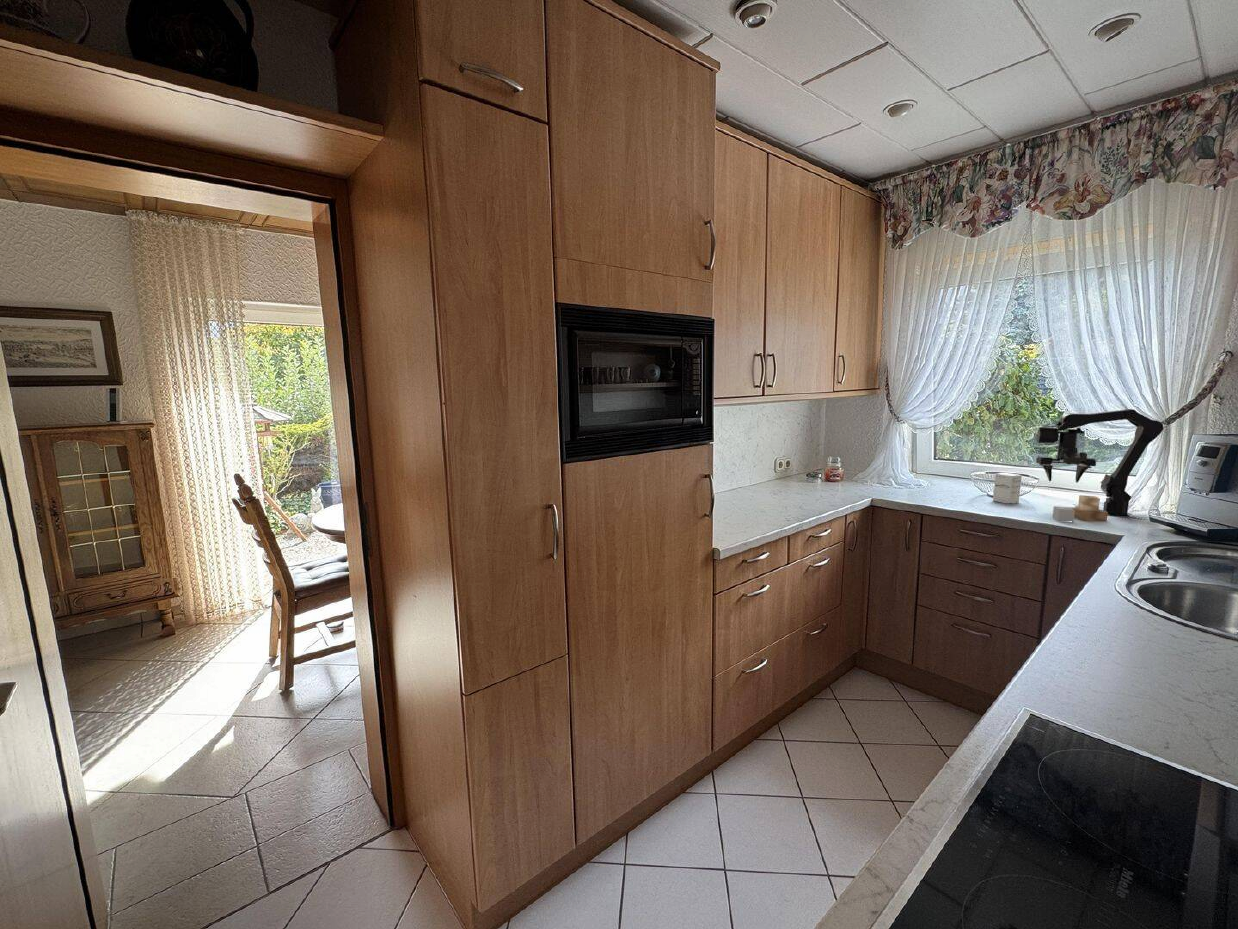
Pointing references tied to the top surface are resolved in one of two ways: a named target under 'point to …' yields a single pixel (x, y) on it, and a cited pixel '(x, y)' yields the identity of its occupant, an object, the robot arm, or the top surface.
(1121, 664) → the top surface
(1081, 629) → the top surface
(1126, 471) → the robot arm
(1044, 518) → the top surface
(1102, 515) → the walnut block
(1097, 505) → the birch cube
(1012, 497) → the supplement box
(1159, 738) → the top surface
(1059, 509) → the grey plastic cube
